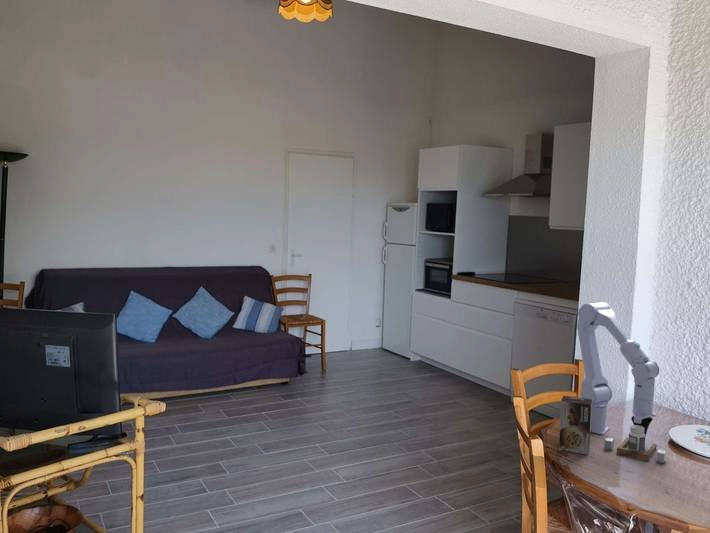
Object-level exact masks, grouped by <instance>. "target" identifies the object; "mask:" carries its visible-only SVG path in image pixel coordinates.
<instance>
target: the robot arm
mask: <svg viewBox="0 0 710 533" xmlns="http://www.w3.org/2000/svg"><path fill="white" fill-rule="evenodd" d="M577 315H578V320H577V325H576V327H577V328H576V329H577V336H578V340H579V345H580V351H581V357H582V358H581V359H582V365H583V371H584V378H583V380H582V381H581V383H580V386H581V389H580V390H581V391H580V398H586V399H592V417H591V433H592V434H593V433H594V434H598V435H601V436H604V435H605V434H606V432H608V430H609V429H610V427H609V426H607V411H608V405H609V402H610V401H611V400H612V399H613V398H612V397H613V391H612V388H611V386H610V385H609V381H608V379H607V378H606V377H605V376H604V375H603V373H602V367H601V360H600V354H599V348H598V343H597V337H596V332H595V331H596V329H598V327H599V326H601V327H604V328H606V330H607V331H608V332H609V333H610V334H611V336H612V337H613V338H614V340H616V342H617V343H618V344H619V345H620V347H619V351H620V353H621V354H622V356H623V357H624V359H625V360H626V361H627V362H628V364H629V365H630V366H631V371H630V372H631V375H632V376H633V377H634V378H633V380H634V381H633V383H634V385H633V386H634V387H633V388H634V390H633V399H632V401H633V404H632V410H631V413H632V416H631V418H630V419H631V421H632V422H631V423H632V425H639V426H642V427H644V428H645V429H644V434H645V438H646V437H647V433H648V429H649V426H650V425H651V423H652V421H653V419H654V418H653V417H657V415H658V414H657V412H653V411H654V410H653V409H654V396H655V386H656V378H657V377H658V376H659V374H660V367H659V365H658V363H657V362H656V361H655V360H653V359H650V357H649V356H647V355H646V354H645V352H644V350H643V349H642V348H641V344H640V343H639V342H636V341H635V340H631V339H630V338H629V337H628V334H627V333H626V331H625V330H624V329H623V327H622V326H621V324H620V322H619V321H618V319H617V318H616V316H615V315H616V313H615V310H613V309H612V307H611V306H610V304H608V303H607V302H605V301H604V302H603V301H601V302H595V303H594V302H593V303H584V304H582V305H581V306H580V308H579V309H578V310H577Z"/></svg>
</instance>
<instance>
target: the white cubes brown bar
mask: <svg viewBox="0 0 710 533" xmlns="http://www.w3.org/2000/svg"><path fill="white" fill-rule="evenodd" d="M628 439H629V437H625V439H624V440H623V441H622V442H621V444H619V446H617V447H616V455H620V456H624V457H629V458H632V459H637V460H640V461H644V462H649V461H650V459H651V458H652V457H653V455H654V453H655V451H656V450H657V451H656V460H655V462H656V463H660V464H664V463H666V460H667V459H666V458H667V450H665V449H660V448H659V449H657V443H652V445H651V446H650V448H649V449H648V451H647V452H644V453H643V452H638V451H634V450H630V449H628V448H626V447H628ZM614 442H615V438H612V437H609V436H608V437H606V438H605V439H604V448H603V449H604V450H607V451H612V450H613V449H614V447H615V446H614V444H615V443H614Z"/></svg>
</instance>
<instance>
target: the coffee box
mask: <svg viewBox="0 0 710 533" xmlns="http://www.w3.org/2000/svg"><path fill="white" fill-rule="evenodd" d="M559 416H560V417H559V418H560V421H559V435H558V436H559V438H558V439H559V440H558V450H559V449H561V450H560V451H562V450H566V451H565V452H568V451H571V453H575V454H576V453H577V454H580V453H581V454H580V455H587V456H588V455H590V452H591V451H590V450H591V433H592V432H591V417H592V399H586V398H581V397H579V396H570V395H563V396H562V398H561V401H560V415H559Z"/></svg>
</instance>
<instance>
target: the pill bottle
mask: <svg viewBox="0 0 710 533" xmlns="http://www.w3.org/2000/svg"><path fill="white" fill-rule="evenodd" d="M644 429H645V428H644V427H642V426H639V425H634V424H631V425H630V428H629V432H628V438H629V439H628V445H627V449H630V450H634V451H638V452H643V453H645V450H646V449H645V447H646V446H645V445H646V437H645V434H644Z"/></svg>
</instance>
